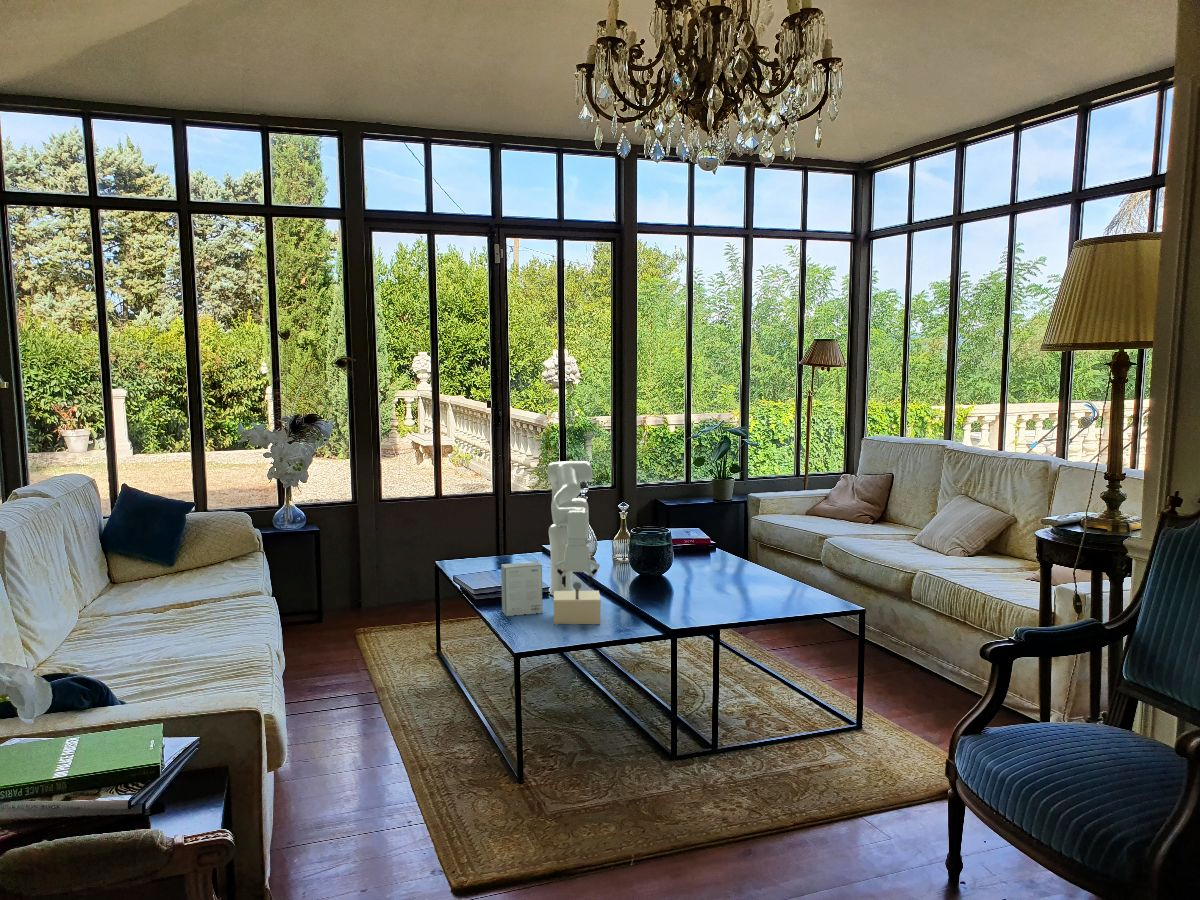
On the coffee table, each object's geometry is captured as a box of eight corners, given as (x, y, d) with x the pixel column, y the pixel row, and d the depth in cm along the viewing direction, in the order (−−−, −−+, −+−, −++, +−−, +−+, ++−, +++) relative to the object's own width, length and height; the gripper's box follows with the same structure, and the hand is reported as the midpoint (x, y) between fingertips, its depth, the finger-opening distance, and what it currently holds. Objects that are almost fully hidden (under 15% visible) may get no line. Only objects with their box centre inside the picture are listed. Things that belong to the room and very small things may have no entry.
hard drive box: (538, 608, 349) (538, 561, 347) (543, 613, 342) (542, 565, 340) (501, 611, 344) (500, 563, 342) (505, 616, 337) (504, 567, 335)
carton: (554, 615, 339) (554, 593, 339) (598, 614, 340) (599, 592, 340) (553, 625, 326) (553, 602, 325) (600, 624, 326) (600, 601, 326)
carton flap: (554, 592, 339) (554, 574, 338) (599, 592, 340) (599, 574, 339) (553, 602, 325) (553, 582, 324) (600, 601, 326) (600, 582, 325)
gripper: (599, 540, 329) (599, 583, 330) (554, 540, 328) (554, 584, 329) (600, 543, 321) (600, 588, 323) (554, 544, 321) (554, 588, 322)
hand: (577, 586), depth 326 cm, fingers open, 9 cm apart
